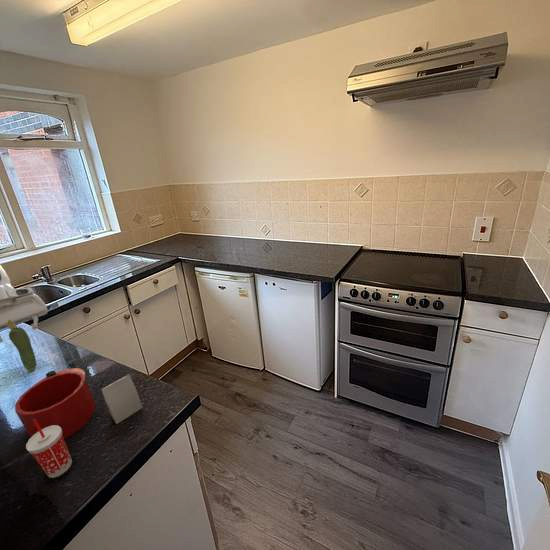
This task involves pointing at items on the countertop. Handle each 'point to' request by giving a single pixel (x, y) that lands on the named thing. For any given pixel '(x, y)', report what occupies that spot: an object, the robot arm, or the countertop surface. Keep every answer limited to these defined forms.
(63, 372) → the lid
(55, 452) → the beverage cup
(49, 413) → the pot
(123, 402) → the grey rectangular block
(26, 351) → the vegetable
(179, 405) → the countertop surface
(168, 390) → the countertop surface
